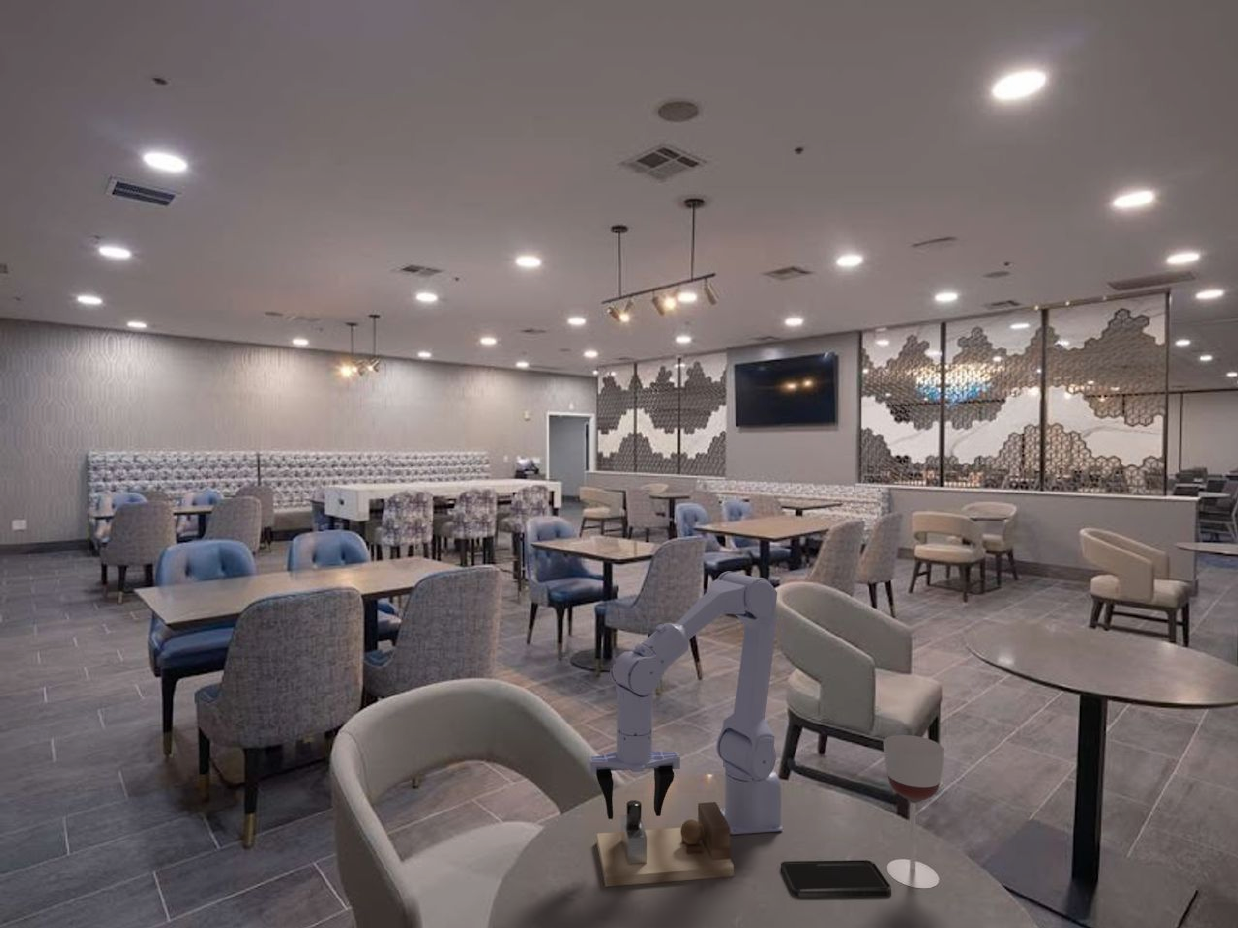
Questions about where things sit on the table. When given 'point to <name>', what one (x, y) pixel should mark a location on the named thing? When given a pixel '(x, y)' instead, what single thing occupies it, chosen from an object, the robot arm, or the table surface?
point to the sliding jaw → (634, 834)
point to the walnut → (691, 832)
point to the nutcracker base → (671, 853)
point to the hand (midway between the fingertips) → (633, 814)
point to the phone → (835, 879)
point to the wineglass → (913, 795)
